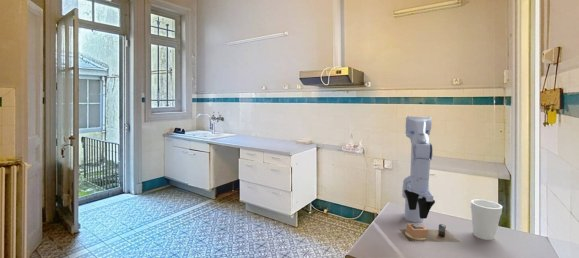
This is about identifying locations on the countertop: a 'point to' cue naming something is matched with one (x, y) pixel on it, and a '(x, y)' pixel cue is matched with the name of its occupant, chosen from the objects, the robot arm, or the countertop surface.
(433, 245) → the countertop surface
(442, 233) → the stand rod
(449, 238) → the jig board
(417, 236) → the collar
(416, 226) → the hub
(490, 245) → the countertop surface
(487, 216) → the foam cup
